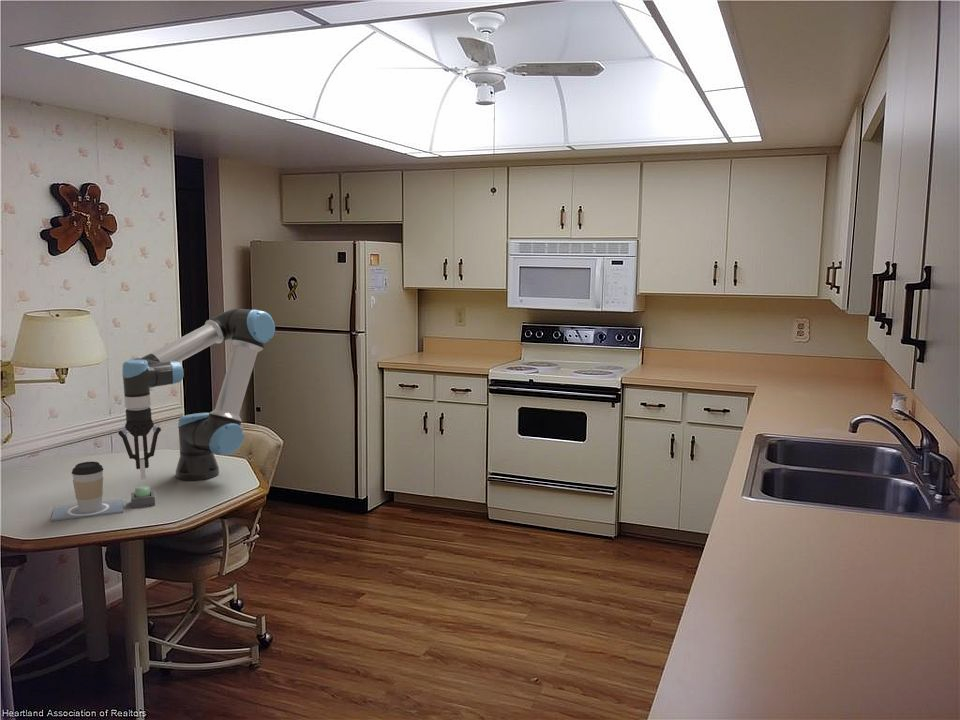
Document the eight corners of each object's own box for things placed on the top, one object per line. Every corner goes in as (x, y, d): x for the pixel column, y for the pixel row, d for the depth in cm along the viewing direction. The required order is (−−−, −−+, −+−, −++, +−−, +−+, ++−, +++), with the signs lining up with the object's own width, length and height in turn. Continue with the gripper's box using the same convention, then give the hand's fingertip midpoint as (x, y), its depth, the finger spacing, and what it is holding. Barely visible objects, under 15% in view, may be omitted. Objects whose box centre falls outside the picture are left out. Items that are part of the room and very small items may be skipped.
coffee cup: (71, 514, 235) (67, 468, 233) (78, 505, 243) (75, 460, 241) (102, 512, 237) (99, 466, 235) (108, 502, 246) (105, 458, 243)
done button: (150, 497, 250) (149, 485, 250) (150, 501, 246) (149, 489, 246) (135, 498, 249) (135, 487, 248) (135, 502, 245) (135, 491, 244)
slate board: (123, 501, 250) (123, 499, 250) (123, 512, 239) (122, 510, 239) (54, 509, 241) (54, 507, 241) (51, 521, 230) (50, 519, 230)
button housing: (154, 499, 252) (154, 490, 252) (155, 505, 246) (154, 496, 246) (131, 501, 249) (131, 493, 249) (131, 508, 243) (131, 499, 243)
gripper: (159, 403, 249) (164, 472, 253) (116, 407, 244) (121, 477, 247) (160, 408, 242) (165, 478, 246) (115, 412, 237) (121, 483, 241)
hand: (143, 477), depth 247 cm, fingers closed
